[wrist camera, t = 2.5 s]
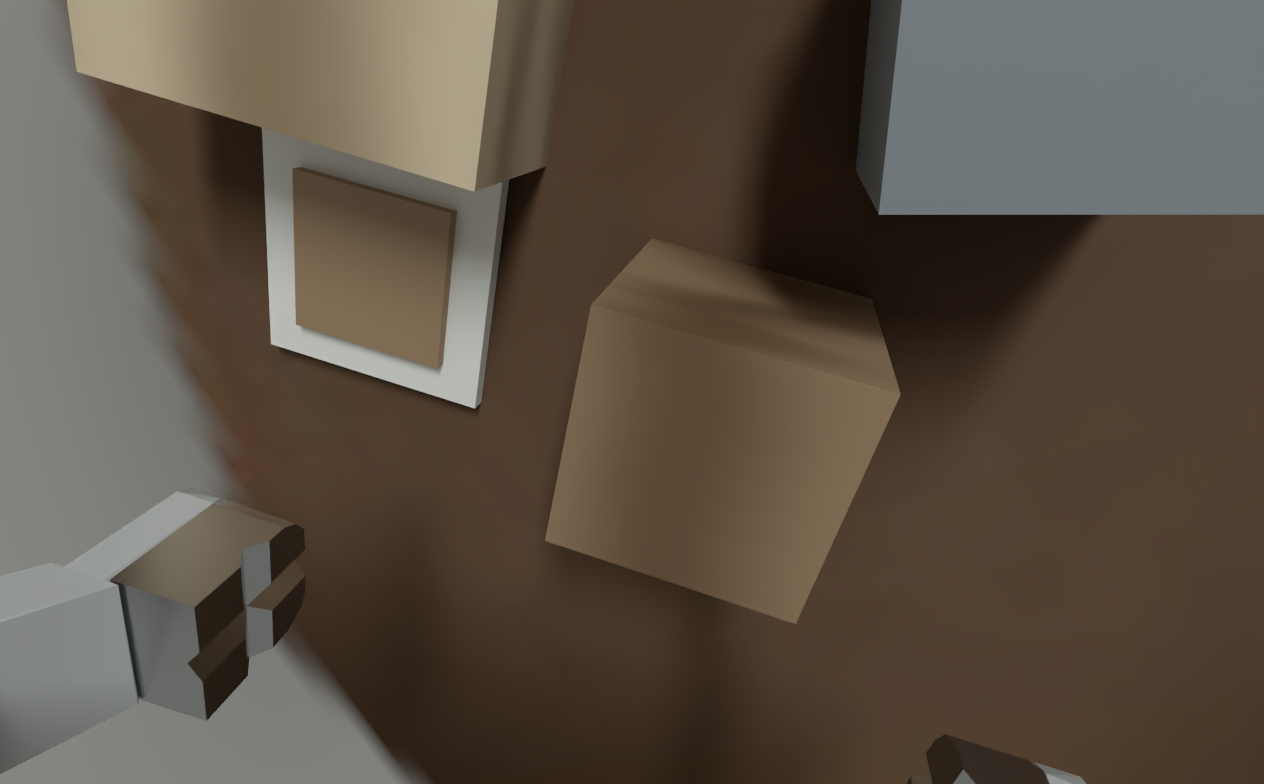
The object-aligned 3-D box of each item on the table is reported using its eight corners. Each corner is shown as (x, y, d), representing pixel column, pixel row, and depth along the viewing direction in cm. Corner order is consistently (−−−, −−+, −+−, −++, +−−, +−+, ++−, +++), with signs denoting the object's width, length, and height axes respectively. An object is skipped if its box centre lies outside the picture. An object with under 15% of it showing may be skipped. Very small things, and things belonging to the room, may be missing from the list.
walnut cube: (871, 297, 15) (900, 394, 10) (797, 481, 17) (795, 623, 13) (653, 237, 15) (591, 304, 11) (609, 423, 18) (544, 540, 13)
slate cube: (1222, -171, 10) (1526, -351, 6) (1135, 165, 13) (1313, 214, 8) (882, -133, 12) (930, -263, 7) (855, 170, 14) (878, 214, 9)
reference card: (509, 176, 15) (497, 180, 15) (481, 402, 18) (469, 413, 17) (273, 111, 16) (252, 112, 15) (281, 339, 19) (263, 348, 18)
